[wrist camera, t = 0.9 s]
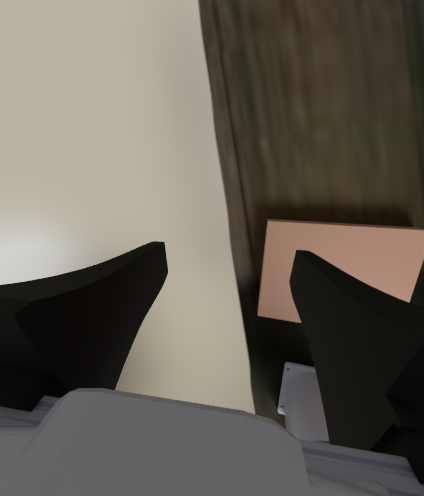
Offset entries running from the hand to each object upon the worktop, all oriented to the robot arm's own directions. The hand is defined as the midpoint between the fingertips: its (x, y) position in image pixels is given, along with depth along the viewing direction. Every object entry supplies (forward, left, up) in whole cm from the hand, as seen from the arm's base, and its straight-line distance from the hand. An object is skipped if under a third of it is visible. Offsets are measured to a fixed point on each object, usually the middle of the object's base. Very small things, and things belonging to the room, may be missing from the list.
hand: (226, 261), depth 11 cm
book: (-5, -10, -15) cm, 19 cm away
